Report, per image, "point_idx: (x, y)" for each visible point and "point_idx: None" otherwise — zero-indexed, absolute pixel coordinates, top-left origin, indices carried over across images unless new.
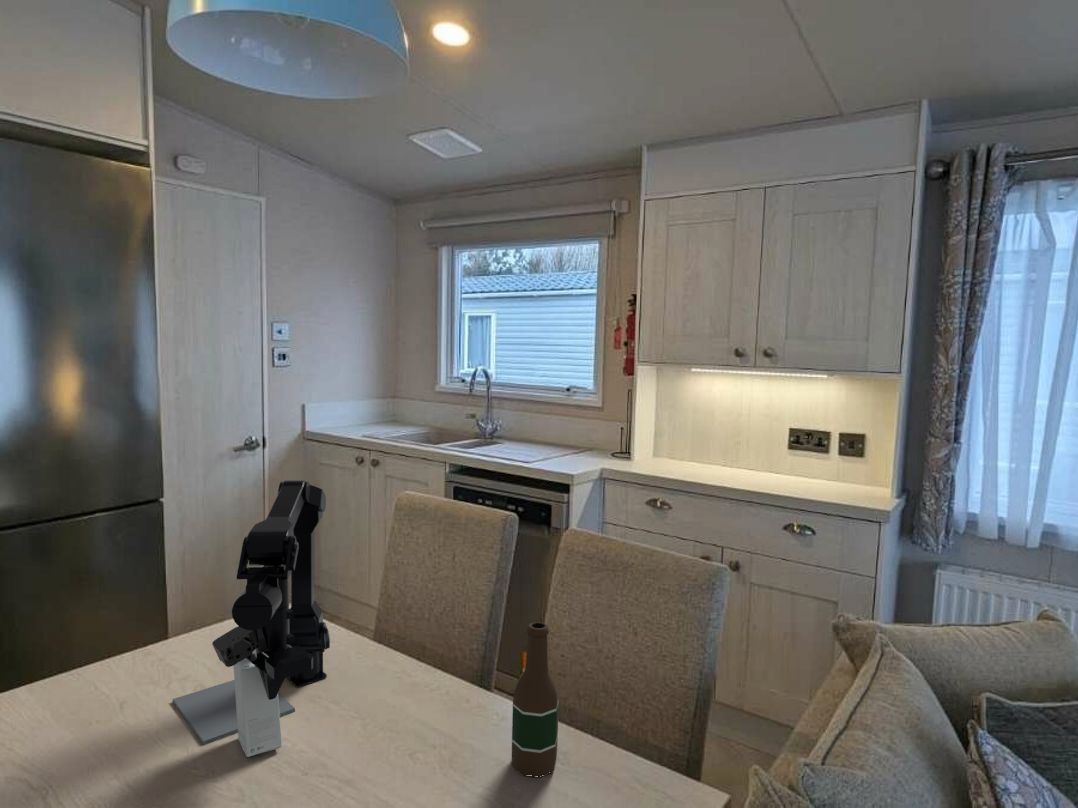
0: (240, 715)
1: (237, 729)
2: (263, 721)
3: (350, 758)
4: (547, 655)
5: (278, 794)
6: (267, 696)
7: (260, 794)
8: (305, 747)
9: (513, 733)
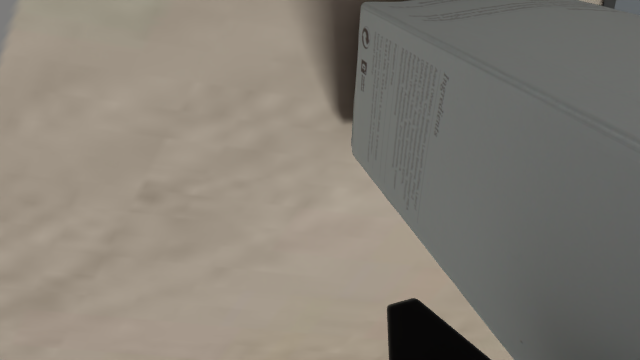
0: (557, 39)
1: (614, 2)
2: (417, 150)
3: (181, 318)
4: None
5: (35, 83)
6: (423, 309)
7: (61, 11)
8: (324, 214)
9: None
